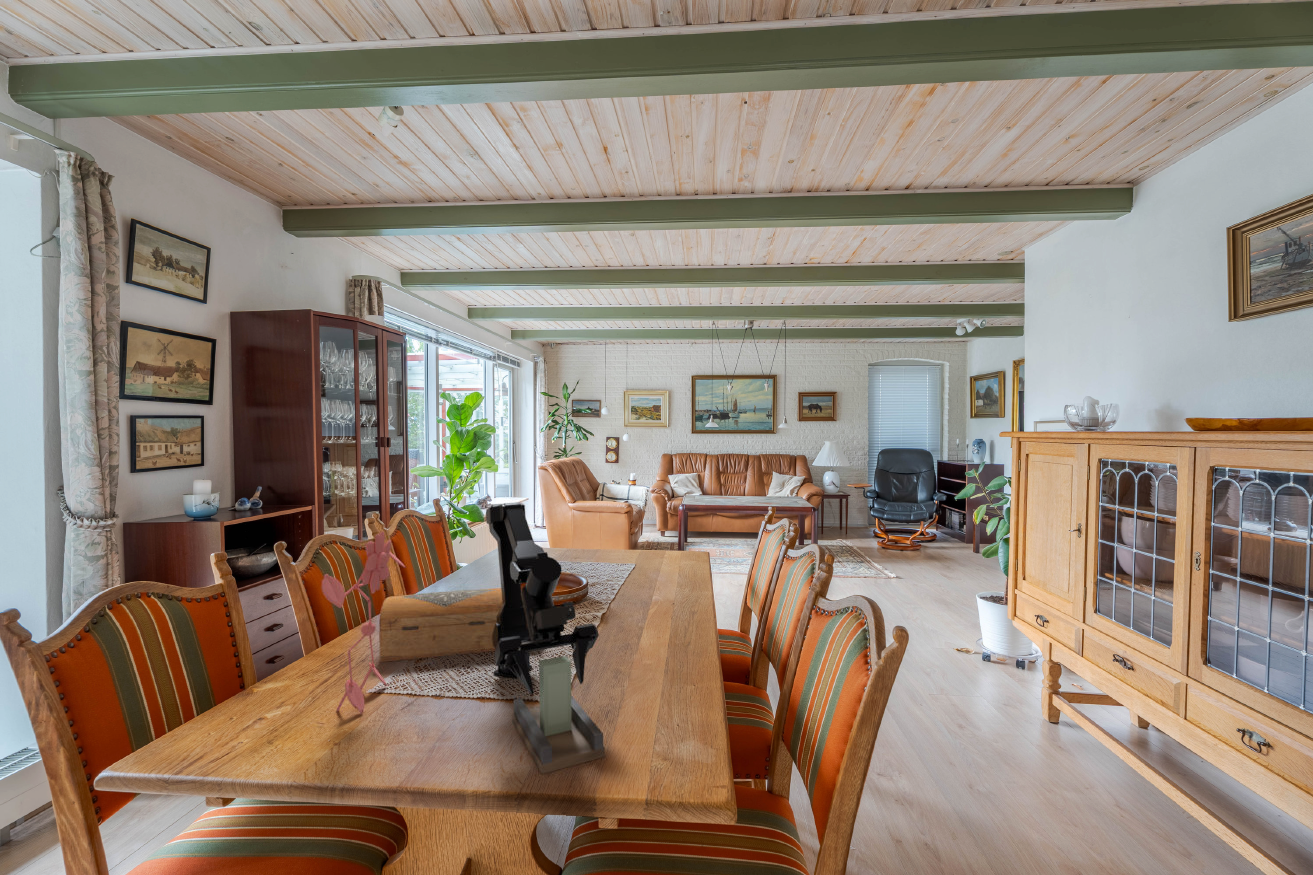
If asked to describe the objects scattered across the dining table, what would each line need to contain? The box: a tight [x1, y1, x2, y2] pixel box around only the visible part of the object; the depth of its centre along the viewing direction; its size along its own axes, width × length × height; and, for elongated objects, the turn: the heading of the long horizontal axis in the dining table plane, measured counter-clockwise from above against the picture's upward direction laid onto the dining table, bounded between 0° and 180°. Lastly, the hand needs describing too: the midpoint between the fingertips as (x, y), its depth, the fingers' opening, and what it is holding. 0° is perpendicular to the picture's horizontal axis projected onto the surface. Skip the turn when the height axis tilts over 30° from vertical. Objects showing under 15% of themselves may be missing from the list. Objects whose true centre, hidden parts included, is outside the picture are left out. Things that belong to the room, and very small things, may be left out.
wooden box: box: [378, 587, 502, 663], centre depth 155 cm, size 30×16×14 cm, turn 104°
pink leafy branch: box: [315, 530, 424, 725], centre depth 123 cm, size 15×26×35 cm, turn 0°
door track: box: [511, 694, 606, 775], centre depth 108 cm, size 20×11×4 cm, turn 27°
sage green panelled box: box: [538, 655, 572, 736], centre depth 107 cm, size 3×5×12 cm, turn 117°
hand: (557, 688), depth 106 cm, fingers open, 9 cm apart
